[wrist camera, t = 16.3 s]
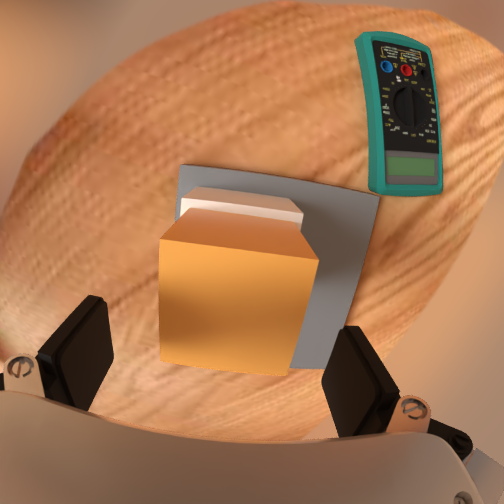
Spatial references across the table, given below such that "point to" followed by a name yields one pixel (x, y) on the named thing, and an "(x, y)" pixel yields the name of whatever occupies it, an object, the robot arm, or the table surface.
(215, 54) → the table surface
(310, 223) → the board
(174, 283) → the orange foam cube
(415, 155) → the digital multimeter
